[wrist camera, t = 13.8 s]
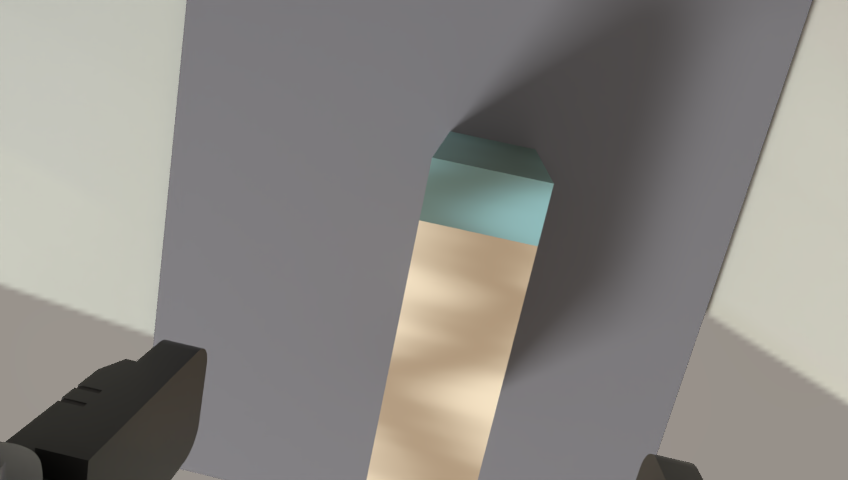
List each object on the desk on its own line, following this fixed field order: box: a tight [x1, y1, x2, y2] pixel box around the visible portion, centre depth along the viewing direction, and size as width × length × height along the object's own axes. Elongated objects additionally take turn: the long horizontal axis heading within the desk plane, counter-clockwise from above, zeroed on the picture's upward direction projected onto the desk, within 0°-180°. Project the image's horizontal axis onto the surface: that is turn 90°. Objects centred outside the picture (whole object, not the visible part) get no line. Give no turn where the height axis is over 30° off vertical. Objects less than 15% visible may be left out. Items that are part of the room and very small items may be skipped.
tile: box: [366, 131, 554, 480], centre depth 20 cm, size 3×7×10 cm
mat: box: [153, 0, 812, 480], centre depth 24 cm, size 20×26×1 cm
